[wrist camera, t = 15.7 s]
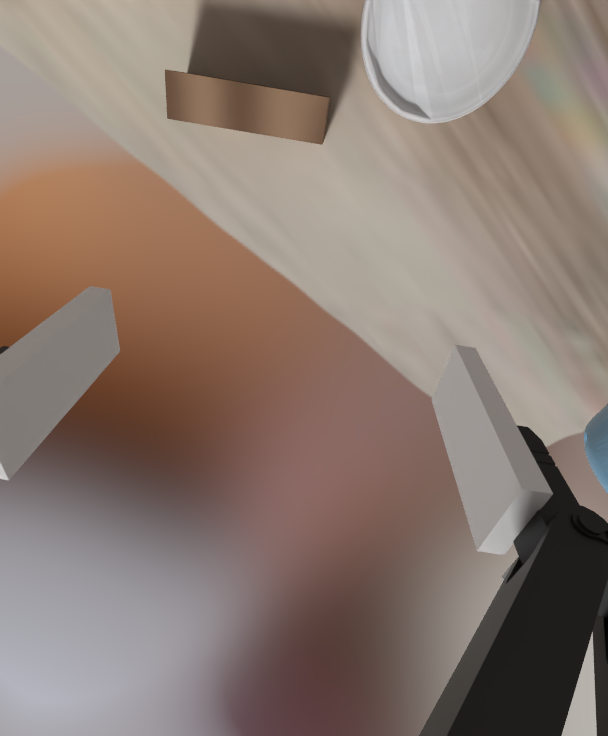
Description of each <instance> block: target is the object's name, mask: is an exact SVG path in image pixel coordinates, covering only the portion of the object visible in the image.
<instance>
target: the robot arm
mask: <svg viewBox="0 0 608 736" xmlns="http://www.w3.org/2000/svg"><path fill="white" fill-rule="evenodd" d="M119 352H120V348H119V341H118V335H117V329H116V322H115V316H114V310H113V304H112V298H111V291H110V290H109V289H103V288H97V287H91V286H90V287H88V288H87V289H86V290H84V291H83V292H82V293H81V294H79V295H78V296H76V297H75V298H74V299H73V300H71V301H70V302H69V303H67V304H66V305H65V306H63V307H62V308H61V309H60V310H58V311H57V312H56V313H54V314H53V315H52V316H50V317H49V318H48V319H46V320H45V321H44V322H42V323H41V324H40V325H38V326H37V327H36V328H34V329H33V330H32V331H31V332H29V333H28V334H27V335H25V336H24V337H23V338H21V339H20V340H19V341H17V342H16V343H15V344H14V345H12V346H11V347H6V346H3V347H1V348H0V479H4V480H9V479H10V478H11V477H12V476H13V475H14V474H15V472H16V471H17V470H18V469H19V468H20V467H21V466H22V464H23V463H24V462H25V461H26V460H27V459H28V457H29V456H30V455H31V454H32V453H33V451H34V450H35V449H36V448H37V447H38V445H40V443H41V442H42V441H43V440H44V439H45V438H46V436H47V435H48V434H49V433H50V432H51V431H52V430H53V428H54V427H55V426H56V425H57V424H58V423H59V421H60V420H61V419H62V418H63V417H64V416H65V414H66V413H67V412H68V411H69V410H70V409H71V407H72V406H73V405H74V404H75V403H76V401H78V399H79V398H80V397H81V396H82V395H83V394H84V392H85V391H86V390H87V389H88V388H89V387H90V385H91V384H92V383H93V382H94V381H95V379H96V378H97V377H98V376H99V375H100V374H101V373H102V372H103V370H104V369H105V368H106V367H107V366H108V365H109V363H110V362H111V361H112V360H113V359H114V358H115V356H116V355H117V354H118V353H119ZM432 403H433V406H434V409H435V412H436V416H437V419H438V423H439V426H440V429H441V433H442V436H443V439H444V443H445V446H446V449H447V452H448V456H449V459H450V463H451V466H452V469H453V472H454V476H455V479H456V483H457V486H458V489H459V493H460V496H461V499H462V502H463V506H464V509H465V512H466V516H467V519H468V522H469V526H470V529H471V532H472V535H473V539H474V542H475V546H476V549H477V551H481V552H488V553H494V554H501V555H504V554H505V553H506V552H507V550H508V549H509V548H510V546H511V545H512V544H513V543H514V545H515V547H516V550H517V552H518V555H519V557H518V558H517V559H516V560H515V562H514V563H513V564H512V565H511V566H510V568H509V569H508V570H507V571H506V572H505V573H504V575H503V576H502V577H503V578H504V581H503V583H502V585H501V587H500V589H499V590H498V592H497V594H496V596H495V598H494V600H493V601H492V603H491V605H490V607H489V609H488V610H487V612H486V614H485V616H484V618H483V620H482V621H481V623H480V625H479V627H478V629H477V631H476V633H475V634H474V636H473V638H472V640H471V642H470V643H469V645H468V647H467V649H466V651H465V653H464V655H463V656H462V658H461V660H460V662H459V664H458V666H457V667H456V669H455V671H454V673H453V675H452V677H451V678H450V680H449V682H448V684H447V686H446V687H445V690H444V691H443V693H442V695H441V697H440V699H439V700H438V702H437V704H436V706H435V708H434V709H433V711H432V713H431V715H430V717H429V719H428V720H427V722H426V724H425V726H424V728H423V730H422V731H421V733H420V735H419V736H561V735H562V731H563V728H564V725H565V721H566V718H567V715H568V711H569V708H570V705H571V701H572V698H573V694H574V691H575V688H576V684H577V681H578V678H579V674H580V671H581V668H582V664H583V661H584V657H585V654H586V651H587V648H588V644H589V641H590V637H591V634H592V631H593V647H594V673H595V695H596V696H595V697H596V720H597V736H608V523H607V522H606V521H605V520H604V519H603V518H602V517H600V516H599V515H598V514H596V513H595V512H594V511H591V510H590V509H588V508H586V507H584V506H580V505H579V503H578V502H577V500H576V498H575V497H574V495H573V493H572V492H571V490H570V488H569V486H568V485H567V483H566V481H565V480H564V478H563V476H562V475H561V473H560V471H559V469H558V468H557V467H556V466H555V462H554V461H553V459H552V457H551V456H549V452H548V450H547V449H546V447H545V445H544V444H543V442H542V440H541V439H540V438H539V437H538V436H537V435H536V434H535V433H534V432H533V431H532V430H531V429H529V428H528V427H523V426H517V425H516V423H515V422H514V420H513V418H512V416H511V414H510V412H509V410H508V408H507V407H506V405H505V403H504V401H503V399H502V397H501V395H500V394H499V392H498V390H497V388H496V386H495V384H494V382H493V380H492V379H491V377H490V375H489V373H488V371H487V369H486V367H485V366H484V364H483V362H482V360H481V358H480V356H479V354H478V352H477V351H476V349H475V348H472V347H465V346H459V345H455V347H454V349H453V352H452V354H451V356H450V359H449V361H448V363H447V366H446V368H445V370H444V373H443V375H442V377H441V380H440V382H439V384H438V387H437V389H436V391H435V394H434V396H433V398H432ZM584 443H585V452H586V456H587V459H588V461H589V463H590V466H591V468H592V470H593V472H594V474H595V475H596V477H597V479H598V480H599V482H600V483H601V485H602V486H603V488H604V489H605V490H606V492H607V493H608V404H607V405H606V406H605V407H604V408H603V409H602V410H601V411H600V412H599V413H598V414H597V415H596V416H595V417H593V418H592V419H591V421H590V422H589V423H588V425H587V426H586V429H585V432H584Z"/></svg>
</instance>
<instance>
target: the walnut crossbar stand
mask: <svg viewBox="0 0 608 736" xmlns="http://www.w3.org/2000/svg"><path fill="white" fill-rule="evenodd" d="M165 81H166V100H167V119H173V120H179V121H185V122H191V123H197V124H203V125H209V126H215V127H221V128H227V129H233V130H239V131H244V132H250V133H256V134H262V135H268V136H274V137H280V138H286V139H292V140H298V141H304V142H310V143H316V144H323V142H324V139H325V132H326V125H327V118H328V111H329V105H330V98H331V97H325V96H319V95H313V94H307V93H301V92H296V91H290V90H284V89H278V88H272V87H266V86H260V85H255V84H249V83H243V82H237V81H231V80H225V79H219V78H213V77H208V76H202V75H196V74H190V73H184V72H177V71H170V70H165Z"/></svg>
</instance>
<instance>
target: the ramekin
mask: <svg viewBox="0 0 608 736" xmlns="http://www.w3.org/2000/svg"><path fill="white" fill-rule="evenodd" d="M540 2H541V0H365V2H364V7H363V13H362V20H361V49H362V56H363V61H364V65H365V69H366V72H367V76H368V78H369V81H370V83H371V85H372V87H373V88H374V90H375V92H376V93H377V95H378V96H379V97H380V98H381V100H382V101H383V102H384V103H385V104H386V105H387V106H388V107H389V108H390V109H392V110H393V111H394V112H396V113H397V114H399V115H401V116H402V117H404V118H407V119H409V120H413V121H417V122H421V123H442V122H447V121H451V120H454V119H457V118H460V117H462V116H464V115H467V114H469V113H470V112H472V111H474V110H476V109H477V108H479V107H480V106H482V105H483V104H484V103H486V102H487V101H488V100H489V99H490V98H491V97H493V96H494V95H495V94H496V93H497V92H498V91H499V90H500V89H501V88H502V87H503V85H504V84H505V83H506V82H507V81H508V79H509V78H510V77H511V75H512V74H513V73H514V71H515V70H516V68H517V67H518V65H519V64H520V62H521V60H522V58H523V56H524V54H525V52H526V50H527V48H528V46H529V44H530V41H531V39H532V36H533V33H534V30H535V27H536V25H537V21H538V14H539V8H540Z"/></svg>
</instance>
